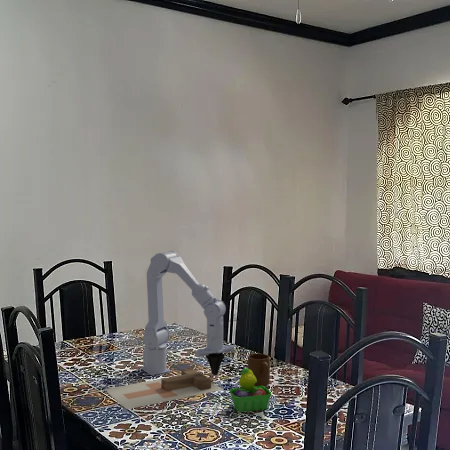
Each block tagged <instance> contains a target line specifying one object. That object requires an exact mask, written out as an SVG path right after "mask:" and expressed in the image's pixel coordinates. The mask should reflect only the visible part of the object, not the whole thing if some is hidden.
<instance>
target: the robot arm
mask: <svg viewBox="0 0 450 450" xmlns="http://www.w3.org/2000/svg"><path fill="white" fill-rule="evenodd" d="M149 261H150V264H149V266H148V268H147V271H146V290H147V291H146V292H147V294H146V295H147V313H148V314H147V315H148V321H147V323H146V324H145V327H144V334H143V337H142V342H143V345H144V346H145V347H144V349H143V352H142V366H141V367H140V369H141V370H142V371H144V372H145V373H147V374H148V375H150V376H155V375H159V374H160V375H161V374H165V373H171V372H172V371H171V369H169V368H168V367H167V345H168V343H167V342H168V341H169V340H170V338H171V334H170V331H169V328H168V323H167V322H166V321H165V319H164V300H163V299H164V298H163V297H164V296H163V277H164V276H165V275H166V274H167V273H171V274H175V275H177V276H178V278H180V279H181V280H182V281H183V283H184V284H186V285H187V286H188V288H190V289H191V290H190V291H191V296H192V297H193V299H194V300H195V301H196V302H197V303H198V304H199V306H200V307H201V308H202V309H203V314H204V317H205V318H206V347H203V348H201V349H197V350H195V352H194V353H195V354H194V356H195V357H196V358H201V357H204V356H205V358H206V359H207V361H208V362H207V363H208V365H209V367H210V372H211V375H213V376H218V375H219V370H220V368H221V365H222V363H223V361H224V359H225V353H229V352H231V353H233V352H235V346H234V345H232V344H228V345H227V344H226V345H224V315H225V314H226V310H227V308H226V304H225V302H224V301H223V300H221V299H218V298H217V296H215V295H214V294H213V293H212V291H211V290H210V287H209V286H208V285H205V284H204V283H199V281H198V280H197V279H196V278H195V276H194V275H193V273H192V272H191V270H189V268H188V267H187V265H186V264H185V262H184V260H183V258H182V257H181V256H180V255H179V254H178V253H177V252H176V251H174V250H170V251H165V252H159V253H156V254H155V255H154V256H152V257H151V258H150V260H149Z"/></svg>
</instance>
